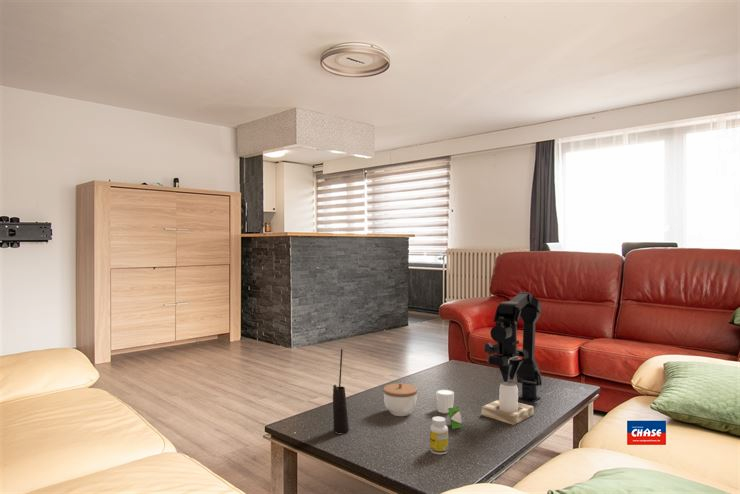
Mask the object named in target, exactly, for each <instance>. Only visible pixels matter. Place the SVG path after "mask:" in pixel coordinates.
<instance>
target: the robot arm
mask: <svg viewBox="0 0 740 494" xmlns="http://www.w3.org/2000/svg"><path fill="white" fill-rule="evenodd" d="M541 312H542V304H541V302H540V299H538V298H536V297H534V296H533V294H532V293H530V292H524V291H519V292H517V294H516V295H515V296H514V297H513V298H512V299H510V300H509V301H502V302H500V303H498V304H497V307H496V310H495V315H494V319H493V323H495V325H494V326H493V327H492V328H491V329H490V337H491V339H492V340H493V341H494V342H496V343H494V344H492V343H491V342H489V343H485V344H484V349H483V352H485V353H486V354H487V355H488V357H487V364H489V365H493V366H494V365H495V366H497V367H498V368H499V371H500V373H501V377H502V379H503V381H504V382H507V381H509V380H513V381H514V378H515V377H516V381H517V382H516V383H519V384H521V395H518V399H520V400H525V401H529V402H532V403H533V402H536V401H537V400H539V399H541V396H538V387H539V386H543V376H542V375H541V372H540V370H539V364H538V362H537V361H536V358H535V356H536V355H535V353H536V351H535V349H536V323H537V321H538V320H539V318H540V317H541ZM520 319H521V320H522V322H523V323H522V324H523V326H522V327H523V330H522V332H523V333H522V348H517V347H518V344H520V340H518V339H517V338H518V333H517V332H518V329H517V327H518V322H520V321H519V320H520Z"/></svg>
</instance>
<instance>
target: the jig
mask: <svg viewBox="0 0 740 494" xmlns="http://www.w3.org/2000/svg"><path fill="white" fill-rule="evenodd" d="M534 409H535V408H534V405H529V404H525V403H521V402H518V411H517V412H515V413H510V412H506V411H503V410H499V399H497V400H494V401H492V402H489V403H488V404H485V405H482V406H481V416H483V417H487V418H491V419H493V420H497V421H500V422H503V423H506V424H510V425H512V426H514V425H517V424H518V423H521V422H522V421H525V420H526V419H528V418H530V417H532V416H534Z"/></svg>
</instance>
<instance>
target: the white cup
mask: <svg viewBox="0 0 740 494" xmlns="http://www.w3.org/2000/svg"><path fill="white" fill-rule="evenodd" d="M435 395H436V396H435V397H436V405H437V406H436V407H437V412H439V413H440V414H449V410H448V408H453V407H454V403H455V402H454V401H455V391H453V390H450V389H438V390H436V391H435Z"/></svg>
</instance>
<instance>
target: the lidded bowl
mask: <svg viewBox="0 0 740 494" xmlns="http://www.w3.org/2000/svg"><path fill="white" fill-rule="evenodd" d="M382 391H383V401H384V406H385V407H386V409H387V410H388V411H389V412H390V414H391V415H392V414H393V415H392V416H395V417H406V416H409V415H410V414H411V412H413V410H414V409H415V408H416V404H417V398H418V388H417V386H415V385H413V384H409V383H402V382H398V383H391V384H390V383H389V384H387V385H385V386H384V387H383V389H382Z"/></svg>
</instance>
